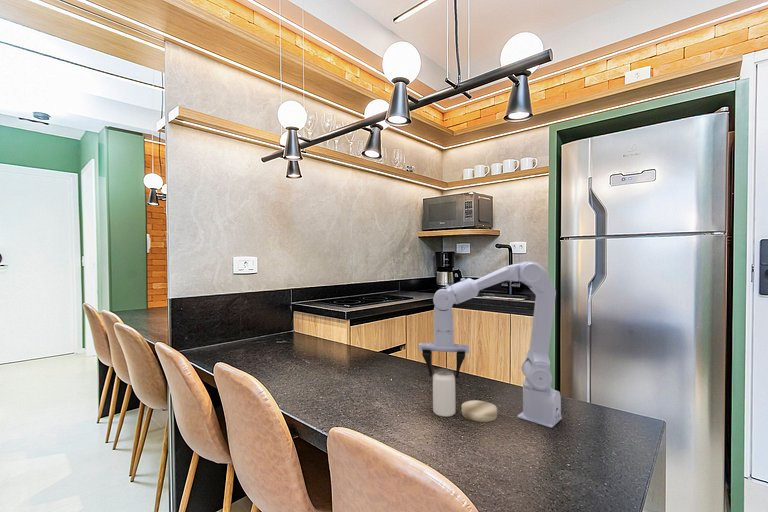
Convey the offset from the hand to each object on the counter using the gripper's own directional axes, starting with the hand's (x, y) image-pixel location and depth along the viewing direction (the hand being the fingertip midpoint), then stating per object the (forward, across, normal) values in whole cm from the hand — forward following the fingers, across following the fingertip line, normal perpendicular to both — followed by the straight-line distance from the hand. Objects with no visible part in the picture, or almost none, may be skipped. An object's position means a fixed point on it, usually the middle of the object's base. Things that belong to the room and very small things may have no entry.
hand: (443, 376), depth 107 cm
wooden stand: (+10, -10, 0) cm, 14 cm away
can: (+11, 0, +1) cm, 11 cm away
